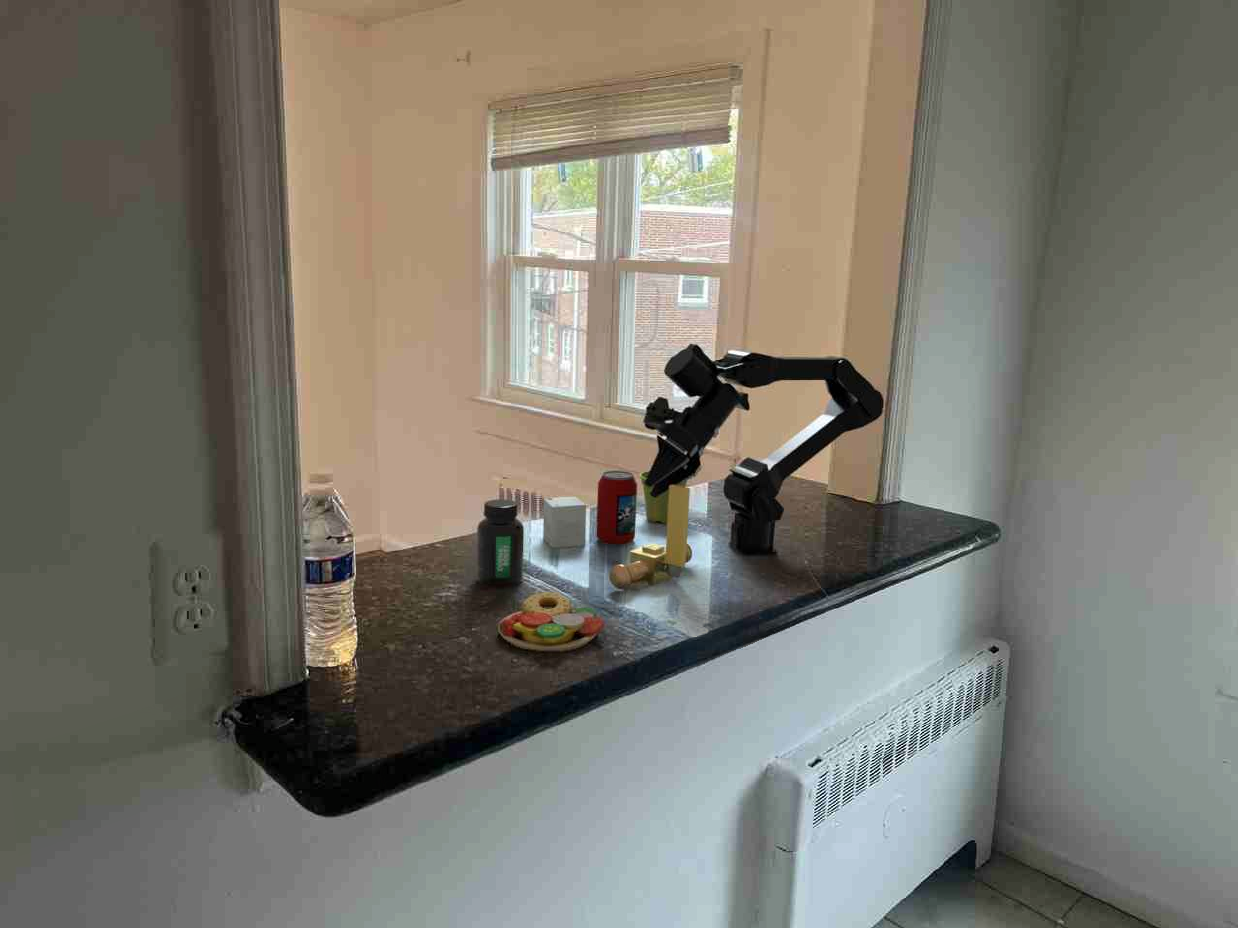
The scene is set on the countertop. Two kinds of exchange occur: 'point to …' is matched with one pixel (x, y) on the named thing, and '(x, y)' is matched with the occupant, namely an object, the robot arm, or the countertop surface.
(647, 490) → the plant pot
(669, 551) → the lever
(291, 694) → the countertop surface
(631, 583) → the valve body
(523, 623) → the toy food set
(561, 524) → the skincare box
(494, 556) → the supplement bottle
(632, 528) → the beverage can
